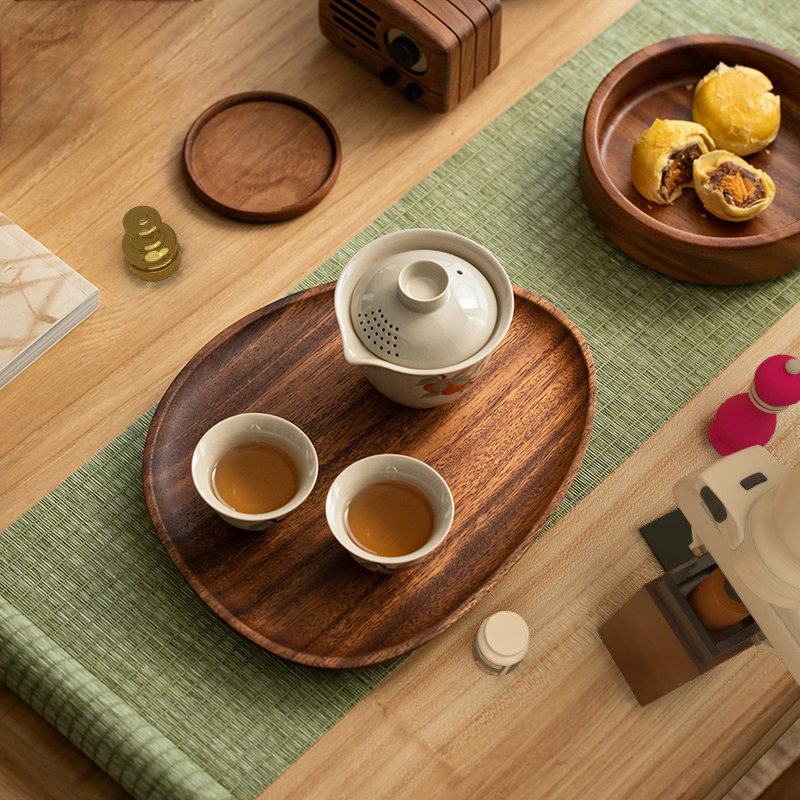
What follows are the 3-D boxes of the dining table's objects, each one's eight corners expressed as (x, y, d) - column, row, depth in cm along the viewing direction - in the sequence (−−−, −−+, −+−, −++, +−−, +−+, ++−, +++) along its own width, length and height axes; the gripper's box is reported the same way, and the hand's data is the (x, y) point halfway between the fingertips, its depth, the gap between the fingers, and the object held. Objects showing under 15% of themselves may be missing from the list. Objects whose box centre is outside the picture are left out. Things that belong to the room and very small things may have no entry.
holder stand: (664, 594, 110) (733, 533, 89) (711, 668, 106) (795, 622, 85) (596, 630, 107) (651, 576, 87) (642, 707, 104) (710, 669, 83)
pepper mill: (770, 435, 120) (842, 361, 102) (741, 474, 117) (809, 404, 99) (723, 402, 122) (785, 322, 104) (693, 439, 119) (752, 364, 101)
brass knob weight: (159, 229, 131) (145, 183, 122) (193, 261, 128) (180, 216, 120) (117, 259, 128) (99, 213, 119) (150, 291, 126) (134, 248, 117)
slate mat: (704, 495, 116) (705, 494, 115) (752, 565, 112) (753, 563, 111) (637, 529, 113) (639, 527, 113) (684, 601, 109) (686, 600, 109)
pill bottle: (512, 621, 108) (525, 600, 99) (527, 670, 105) (541, 652, 96) (465, 633, 107) (474, 612, 98) (478, 682, 104) (489, 665, 95)
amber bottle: (717, 574, 90) (752, 546, 82) (746, 618, 88) (785, 593, 80) (677, 595, 89) (708, 569, 81) (706, 640, 87) (740, 618, 79)
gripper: (911, 650, 69) (827, 682, 81) (747, 427, 77) (693, 488, 89) (846, 689, 67) (770, 716, 80) (686, 458, 75) (639, 515, 88)
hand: (729, 594), depth 85 cm, fingers open, 8 cm apart
